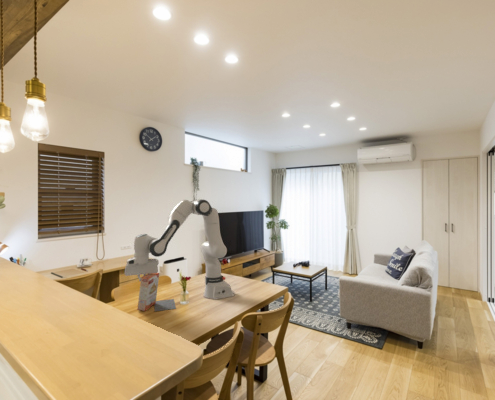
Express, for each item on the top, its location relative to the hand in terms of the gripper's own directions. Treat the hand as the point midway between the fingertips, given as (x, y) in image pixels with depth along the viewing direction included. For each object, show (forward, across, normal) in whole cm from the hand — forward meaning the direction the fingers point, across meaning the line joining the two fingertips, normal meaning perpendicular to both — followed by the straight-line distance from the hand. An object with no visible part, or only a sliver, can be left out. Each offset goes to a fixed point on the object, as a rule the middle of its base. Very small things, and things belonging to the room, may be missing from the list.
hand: (141, 281), depth 180 cm
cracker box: (+17, -3, 0) cm, 17 cm away
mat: (+17, -14, 0) cm, 22 cm away
